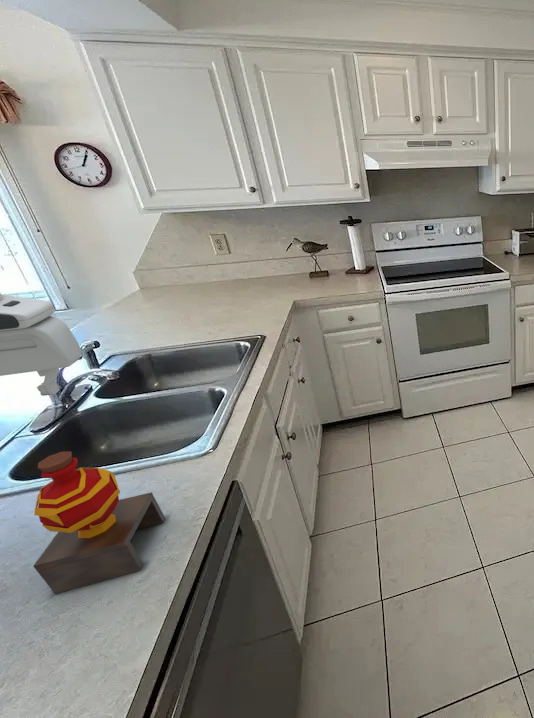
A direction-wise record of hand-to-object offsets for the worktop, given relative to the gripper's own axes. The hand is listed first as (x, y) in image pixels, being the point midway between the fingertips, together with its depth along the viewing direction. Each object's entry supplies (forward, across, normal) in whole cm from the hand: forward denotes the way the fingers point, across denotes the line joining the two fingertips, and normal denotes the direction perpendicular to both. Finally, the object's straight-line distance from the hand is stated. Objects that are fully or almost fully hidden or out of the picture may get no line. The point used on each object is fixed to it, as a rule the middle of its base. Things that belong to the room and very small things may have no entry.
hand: (13, 398), depth 64 cm
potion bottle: (+25, +4, -4) cm, 26 cm away
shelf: (+32, +4, -4) cm, 32 cm away
